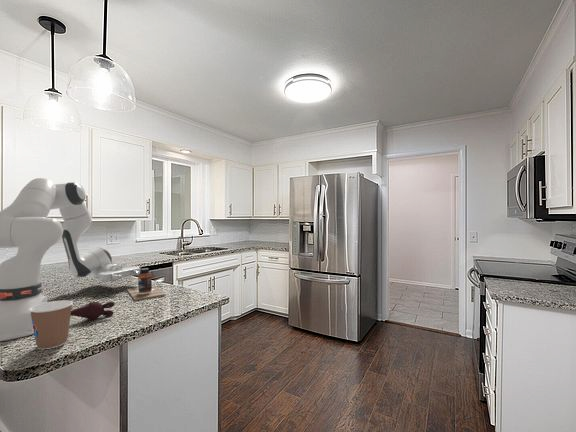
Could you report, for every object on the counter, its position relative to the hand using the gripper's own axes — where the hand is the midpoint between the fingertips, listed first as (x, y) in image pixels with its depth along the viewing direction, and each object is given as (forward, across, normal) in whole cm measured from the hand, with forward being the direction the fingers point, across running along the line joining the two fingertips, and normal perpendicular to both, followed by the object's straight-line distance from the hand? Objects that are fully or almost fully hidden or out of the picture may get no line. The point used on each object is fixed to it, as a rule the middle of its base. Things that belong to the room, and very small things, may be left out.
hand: (129, 275), depth 146 cm
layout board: (+12, 0, +8) cm, 14 cm away
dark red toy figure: (+25, -32, +8) cm, 42 cm away
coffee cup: (+36, -49, +8) cm, 61 cm away
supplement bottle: (+12, 0, +7) cm, 14 cm away
